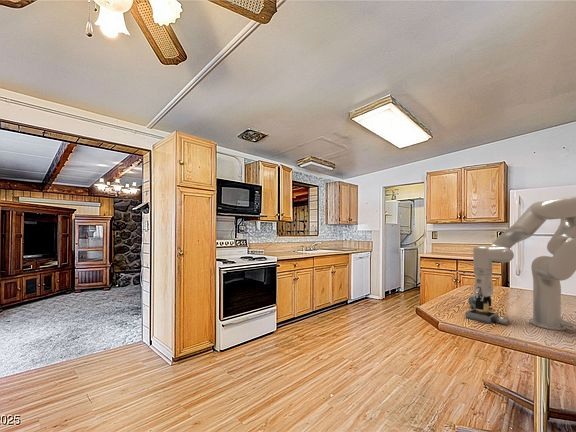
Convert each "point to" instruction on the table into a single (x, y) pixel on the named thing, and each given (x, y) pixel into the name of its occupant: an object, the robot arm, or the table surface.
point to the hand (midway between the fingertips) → (483, 307)
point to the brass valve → (485, 310)
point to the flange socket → (486, 317)
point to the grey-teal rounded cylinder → (473, 301)
